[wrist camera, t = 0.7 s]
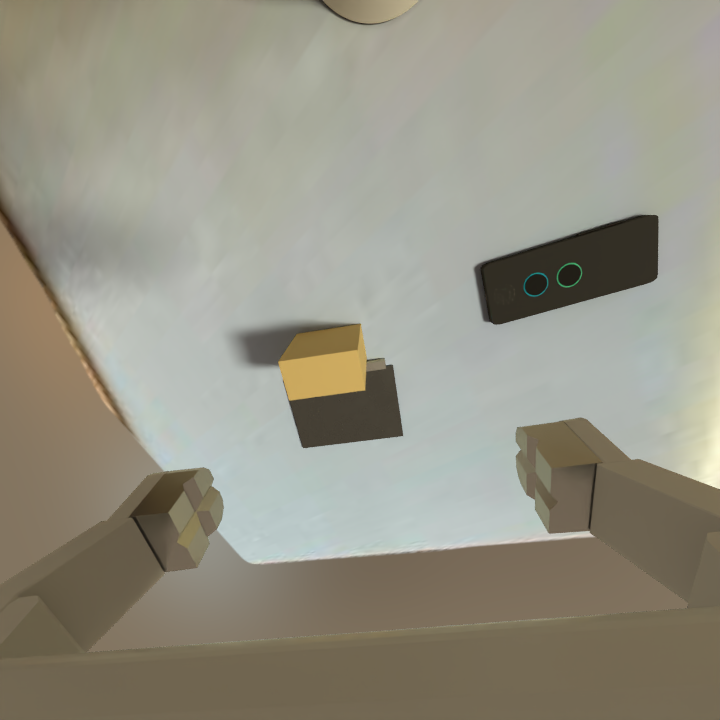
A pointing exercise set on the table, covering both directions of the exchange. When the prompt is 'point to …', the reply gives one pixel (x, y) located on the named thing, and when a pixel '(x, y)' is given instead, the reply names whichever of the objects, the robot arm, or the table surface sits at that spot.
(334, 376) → the mustard block
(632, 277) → the smart home device
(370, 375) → the topple stop
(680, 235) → the table surface
